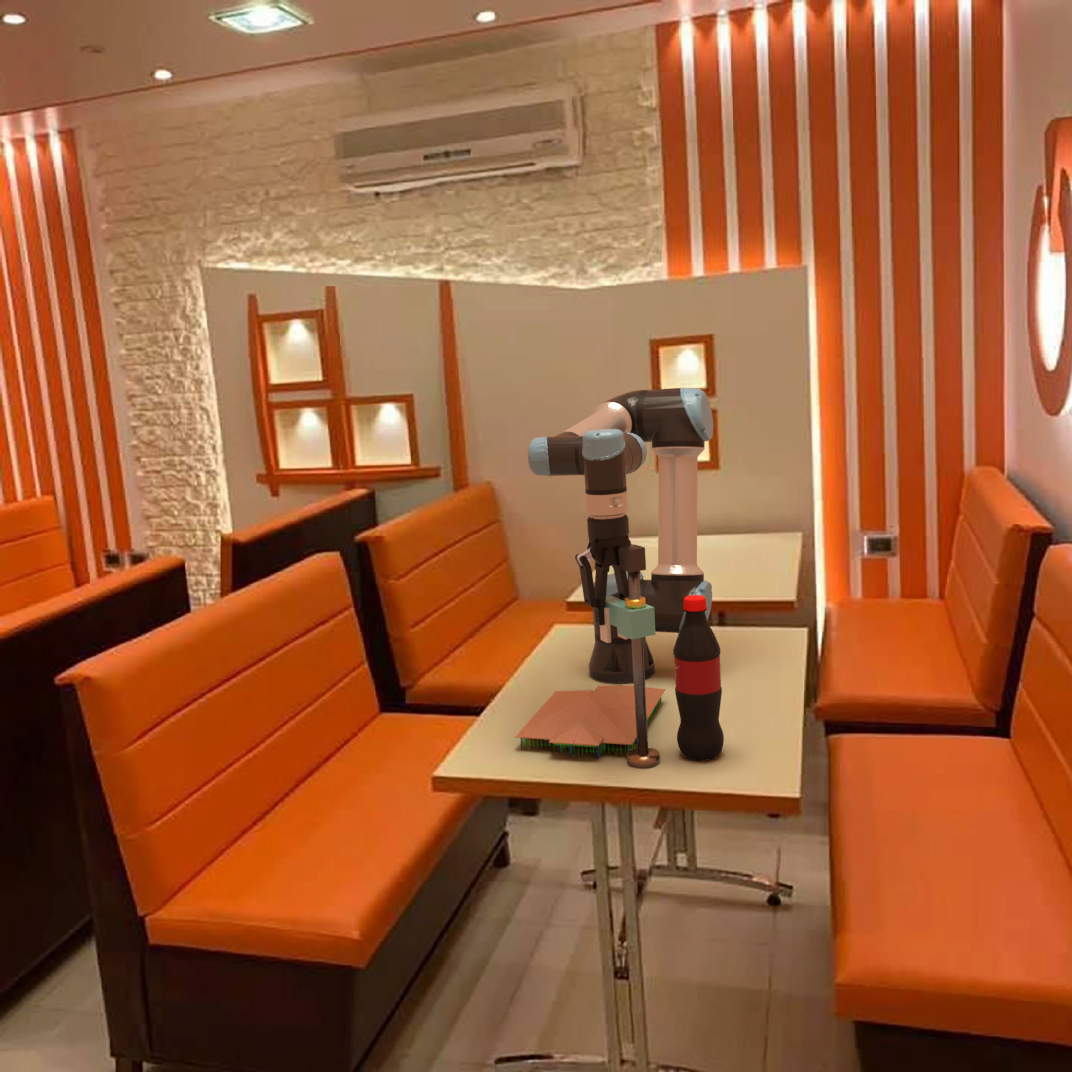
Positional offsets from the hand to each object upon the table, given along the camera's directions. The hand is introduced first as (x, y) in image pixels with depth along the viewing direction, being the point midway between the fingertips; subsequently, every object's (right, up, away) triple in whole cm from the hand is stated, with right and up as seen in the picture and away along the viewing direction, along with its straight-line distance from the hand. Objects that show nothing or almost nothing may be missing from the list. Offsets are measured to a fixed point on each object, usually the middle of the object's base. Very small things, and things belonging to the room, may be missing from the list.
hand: (614, 639), depth 194 cm
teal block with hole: (+1, +2, -4) cm, 5 cm away
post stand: (+5, -22, -4) cm, 23 cm away
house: (-3, -20, +15) cm, 25 cm away
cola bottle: (+16, -21, -2) cm, 27 cm away
